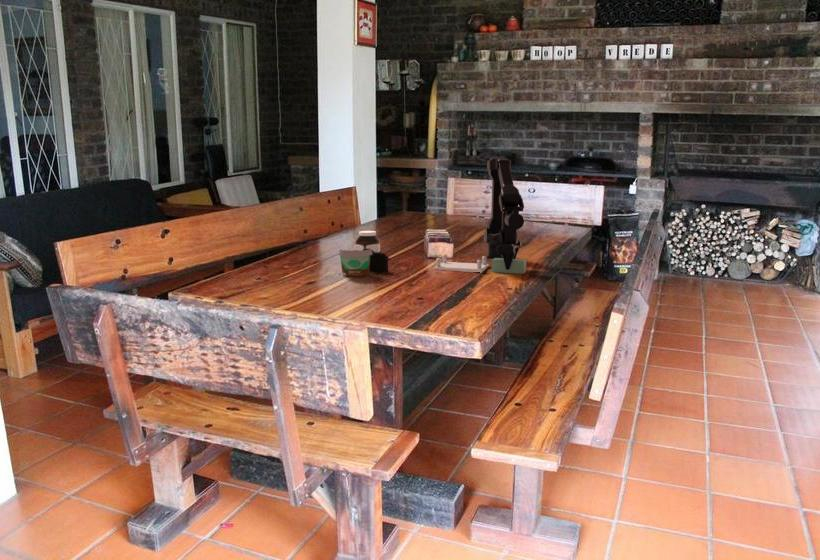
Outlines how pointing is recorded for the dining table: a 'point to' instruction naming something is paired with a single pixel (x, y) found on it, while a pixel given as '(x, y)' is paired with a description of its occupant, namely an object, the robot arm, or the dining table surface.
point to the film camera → (378, 262)
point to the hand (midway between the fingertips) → (508, 268)
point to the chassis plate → (461, 265)
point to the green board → (515, 267)
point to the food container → (355, 263)
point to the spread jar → (367, 241)
